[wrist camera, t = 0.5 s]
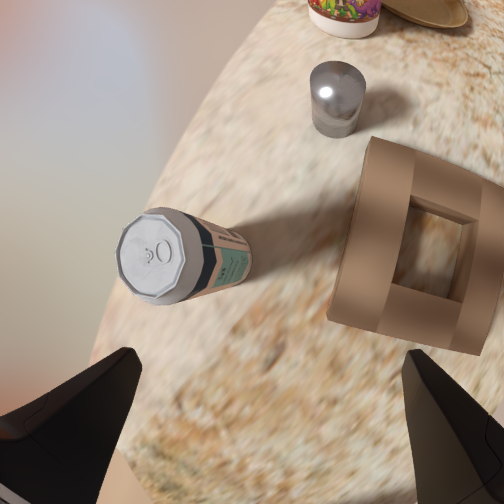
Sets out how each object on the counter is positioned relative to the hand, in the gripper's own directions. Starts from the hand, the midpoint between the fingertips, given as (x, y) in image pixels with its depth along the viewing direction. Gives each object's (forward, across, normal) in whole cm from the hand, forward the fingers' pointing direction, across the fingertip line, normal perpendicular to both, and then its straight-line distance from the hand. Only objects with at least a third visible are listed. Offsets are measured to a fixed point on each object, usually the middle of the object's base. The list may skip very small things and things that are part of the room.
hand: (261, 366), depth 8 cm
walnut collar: (+15, -11, +4) cm, 19 cm away
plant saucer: (+30, -19, -24) cm, 43 cm away
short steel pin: (+20, -5, -7) cm, 22 cm away
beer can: (+15, +6, +4) cm, 17 cm away
